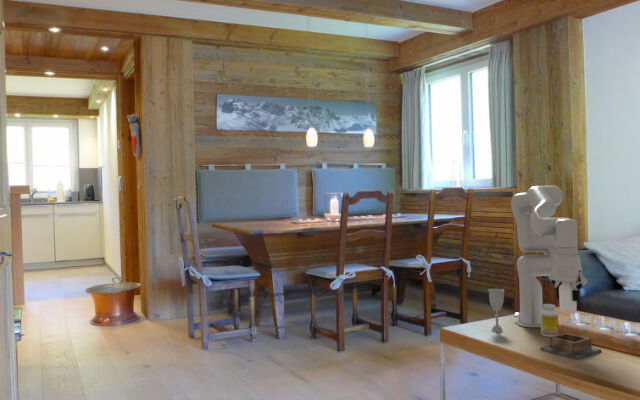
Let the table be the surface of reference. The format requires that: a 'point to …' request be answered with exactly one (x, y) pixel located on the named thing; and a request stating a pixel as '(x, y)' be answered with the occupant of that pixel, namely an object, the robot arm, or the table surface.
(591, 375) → the table surface
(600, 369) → the table surface
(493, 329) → the chalice
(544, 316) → the supplement bottle
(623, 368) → the table surface
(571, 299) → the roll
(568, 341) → the brown wooden open box
